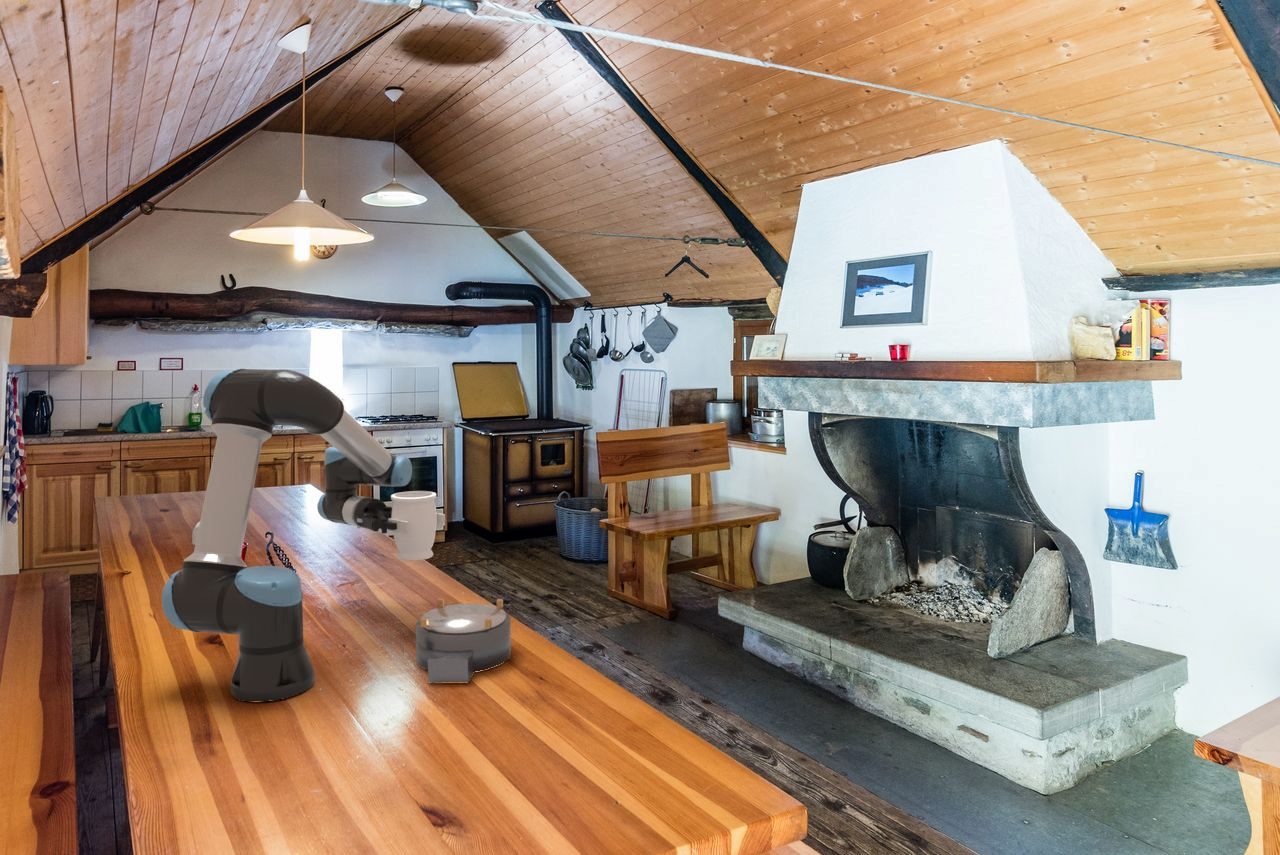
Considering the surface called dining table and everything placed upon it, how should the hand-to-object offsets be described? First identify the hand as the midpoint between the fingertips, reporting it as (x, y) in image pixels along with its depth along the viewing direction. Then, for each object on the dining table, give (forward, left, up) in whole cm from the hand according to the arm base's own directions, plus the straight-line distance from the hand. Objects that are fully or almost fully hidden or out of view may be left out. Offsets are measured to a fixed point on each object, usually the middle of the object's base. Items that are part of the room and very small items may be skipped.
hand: (426, 523), depth 195 cm
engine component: (+28, +67, -26) cm, 78 cm away
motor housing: (-17, -12, -26) cm, 33 cm away
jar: (+3, +4, -9) cm, 10 cm away
